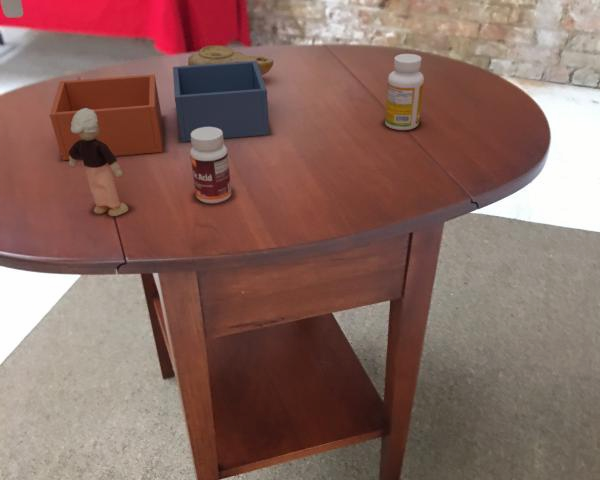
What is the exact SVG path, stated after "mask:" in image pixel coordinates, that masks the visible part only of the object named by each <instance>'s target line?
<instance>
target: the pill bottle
mask: <svg viewBox="0 0 600 480" xmlns="http://www.w3.org/2000/svg"><path fill="white" fill-rule="evenodd" d="M224 140H225V139H224V138H223V132H222V131H221V130H220V129H218V128H215V127H202V128H198V129H195V130H194V131H192V132H191V141H190V144H191V149H190V151H189V153H190V162H191V169H192V170H191V171H192V177H193V185H194V191H195V196H196V198H197V200H199V201H200V202H202V203H205V204H218V203H222V202H225V201H227V200H228V199H230V197H231V196H232V184H231V174H230V162H229V151H228V148H227V147H226V145H225V144H224V143H225V141H224Z"/></svg>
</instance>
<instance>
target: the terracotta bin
mask: <svg viewBox="0 0 600 480" xmlns="http://www.w3.org/2000/svg"><path fill="white" fill-rule="evenodd" d="M55 92H56V93H55V96H54V100H53V102H52V106H51V109H50V113H49V117H50V121H51V125H52V128H53V131H54V135H55V138H56V141H57V145H58V149H59V152H60V155H61V159H62V161H69V160H70V159H69V156H70V155H69V153H68V152H69V150H70V149H71V147H72V146H73V144H74V143H76V142H77V141H79V140H84V139H82V138H81V137H80V136H79V134H76V133H73V132H72V131H71V126H72V125H71V122H72V119H73V117H74V115H75V114H76V112H77V111H79V110H81V109H84V108H88V109H91V110H93V111H94V112H95V113H96V115H97V120H98V122H97V124H98V126H99V135H98V137H97V138H96V139H97V140H99V141H101V142H103V143H105V144H106V145H107V146H108V147H109V149H110V151H111V152H112V153H113V155H114V156H115V157H119V156H129V155H142V154H144V155H145V154H154V153H163V152H164V151H163V116H162V110H161V105H160V98H159V93H158V86H157V79H156V75H155V74H143V75H141V74H140V75H130V76H129V75H128V76H115V77H114V76H113V77H101V78H89V79H88V78H87V79H75V80H74V79H73V80H60V81H59V82H58V86H57V88H56V91H55Z"/></svg>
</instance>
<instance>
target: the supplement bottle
mask: <svg viewBox="0 0 600 480" xmlns="http://www.w3.org/2000/svg"><path fill="white" fill-rule="evenodd" d="M421 67H422V56H420V55H418V54H414V53H401V54H397V55H395V57H394V60H393V69H394V70H393V71H391V72H390V73H389V74H388V78H387V87H386V88H387V89H386V99H385V114H384V123H385V126H386V127H388V128H389V129H393V130H397V131H409V130H414V129H415V128H416V127H418V125H419V123H420V118H421V117H420V116H421V108H422V107H421V106H422V99H423V92H424V91H423V90H424V80H425V77H424V74H423V73H422V72H421V71H420V70H421Z"/></svg>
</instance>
